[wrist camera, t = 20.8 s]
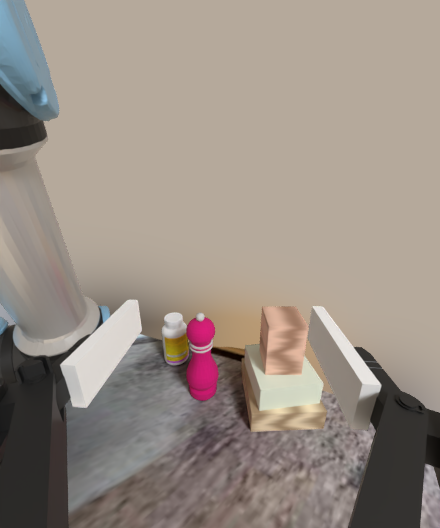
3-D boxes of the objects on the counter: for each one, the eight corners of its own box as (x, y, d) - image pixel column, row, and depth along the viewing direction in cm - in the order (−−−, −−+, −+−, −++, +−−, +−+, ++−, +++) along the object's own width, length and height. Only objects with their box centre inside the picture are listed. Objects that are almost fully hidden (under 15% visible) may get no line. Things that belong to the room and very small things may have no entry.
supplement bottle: (193, 360, 58) (190, 319, 54) (169, 370, 54) (165, 327, 50) (183, 346, 63) (180, 307, 59) (161, 354, 60) (156, 315, 56)
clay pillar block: (265, 374, 41) (269, 326, 38) (259, 349, 48) (262, 306, 44) (301, 374, 41) (308, 326, 38) (290, 349, 48) (295, 306, 44)
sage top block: (259, 410, 40) (260, 390, 38) (244, 362, 51) (245, 345, 49) (319, 403, 41) (323, 383, 39) (292, 357, 52) (294, 340, 51)
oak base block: (250, 433, 40) (251, 414, 39) (241, 374, 54) (241, 358, 52) (322, 430, 41) (326, 411, 39) (295, 372, 54) (297, 356, 53)
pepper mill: (222, 398, 47) (221, 320, 40) (189, 406, 45) (183, 326, 39) (214, 373, 53) (213, 302, 47) (185, 379, 52) (180, 307, 45)
